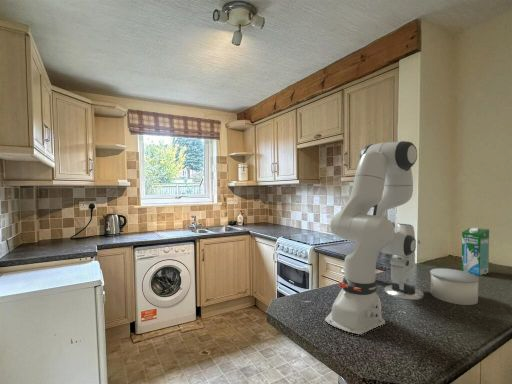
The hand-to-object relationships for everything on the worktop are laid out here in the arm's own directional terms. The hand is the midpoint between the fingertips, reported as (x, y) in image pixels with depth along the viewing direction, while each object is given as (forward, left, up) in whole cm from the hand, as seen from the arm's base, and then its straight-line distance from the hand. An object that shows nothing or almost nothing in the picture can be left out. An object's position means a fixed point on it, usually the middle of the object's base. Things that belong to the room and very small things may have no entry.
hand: (403, 288), depth 126 cm
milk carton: (+61, -18, -2) cm, 64 cm away
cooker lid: (0, 0, -2) cm, 2 cm away
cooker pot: (+11, -17, -2) cm, 20 cm away
